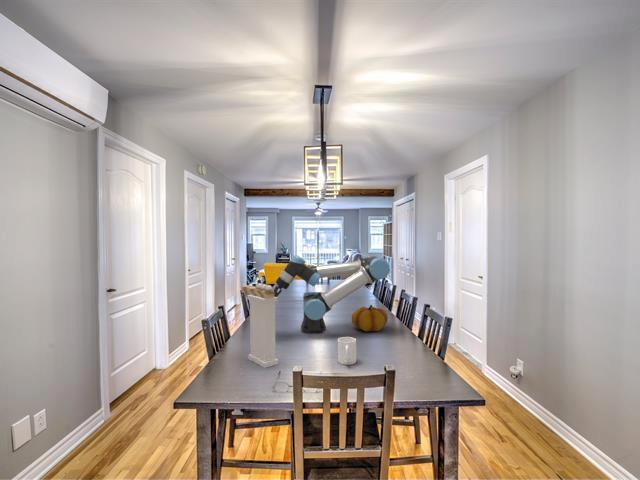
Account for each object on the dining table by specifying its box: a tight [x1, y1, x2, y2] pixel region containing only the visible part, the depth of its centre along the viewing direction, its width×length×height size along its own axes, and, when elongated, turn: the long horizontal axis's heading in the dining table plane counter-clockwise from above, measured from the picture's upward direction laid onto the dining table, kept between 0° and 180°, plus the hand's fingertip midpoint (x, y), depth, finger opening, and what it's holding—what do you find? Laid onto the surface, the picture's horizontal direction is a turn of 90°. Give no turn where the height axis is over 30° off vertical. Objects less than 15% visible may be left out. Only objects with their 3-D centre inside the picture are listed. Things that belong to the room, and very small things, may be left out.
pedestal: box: [246, 294, 279, 369], centre depth 160 cm, size 15×7×30 cm, turn 39°
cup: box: [337, 336, 357, 366], centre depth 157 cm, size 8×12×10 cm
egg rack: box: [240, 282, 274, 299], centre depth 163 cm, size 24×4×6 cm, turn 39°
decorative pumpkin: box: [351, 304, 388, 333], centre depth 211 cm, size 20×22×15 cm
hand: (262, 311), depth 195 cm, fingers open, 13 cm apart
